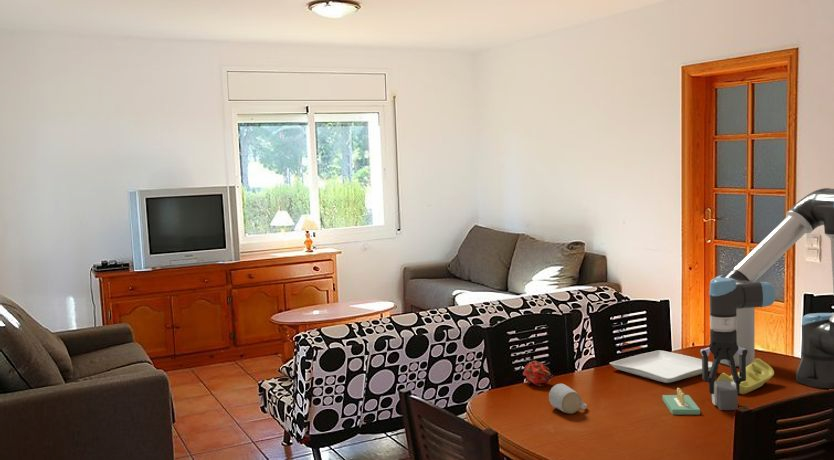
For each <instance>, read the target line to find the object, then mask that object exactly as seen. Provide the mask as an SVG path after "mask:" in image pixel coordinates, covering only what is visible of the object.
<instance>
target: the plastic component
mask: <svg viewBox="0 0 834 460" xmlns="http://www.w3.org/2000/svg"><path fill="white" fill-rule="evenodd" d="M737 373H738V376H739V371H737ZM774 375H775V371H774V369H773V367H772V366H770V365H769V364H768V363H766V362H765V361H763V360H762V359H760V358H758V357H757V358H754V360H753V361H752V362H751V363H750V364H749V365H748V366H746V381H743V382H741V383H740V384H739V386H740V392H739V393H738V394H740V395H746V394H748V393H750V392H753V391H754V390H756V389H758V388H760V387H762V386H764V384H765V383H767V382H768V381H770V380H771V378H772V377H774ZM715 381H728V382H729V383H730V384H731V382H734V380H733V376H732V374H731V375H729V374H727V373H725V372H722V373H720V374H719V376H718V377H717V378H716V379H715Z"/></svg>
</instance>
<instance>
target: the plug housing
mask: <svg viewBox="0 0 834 460" xmlns="http://www.w3.org/2000/svg"><path fill="white" fill-rule="evenodd" d="M715 383H716V384H717V405H715V406H716V407H717V408H718V409H719V410H720V411H736V410H735V409H736V408H738V409H739V404H738V403H739V402H738V401H739V399H738V398H739V397H738V393H737V389H736V388H735V387H733V386H732V385H731V384H730V383H729V382H728V381H716V380H715ZM710 396H711V397H710V398H711V401H712V394H710Z"/></svg>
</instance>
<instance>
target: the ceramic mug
mask: <svg viewBox="0 0 834 460" xmlns="http://www.w3.org/2000/svg"><path fill="white" fill-rule="evenodd" d="M548 400H549V403H550V405H551V406H552V407H553V408H556V409H557V410H559V411H562V412H563V413H564V414H567V415H568V414H569V415H573V414H575V413H577V412H578V411H579V410H580V409H582V410H586V409H587V406H588V405H587V404H586V403H585V402H583V401H582V397H581V395H580V394H579V393H578V392H577V391H576V390H574V389H573V388H571V387H570V386H568V385H566V384H564V383H556V384H555V385H553V386H552V387H551V389H550V390H549V393H548Z"/></svg>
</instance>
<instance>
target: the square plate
mask: <svg viewBox="0 0 834 460" xmlns="http://www.w3.org/2000/svg"><path fill="white" fill-rule="evenodd" d="M712 363H713V361H709V360H708V373H710V371H711V367H712ZM609 365H611V366H612V367H613V368H615V369H616V370H619V371H622V372H626V373H628V374H631V375H635V376H639V377H642V378H646V379H650V380H652V381H653V380H654V381H656V382H660V383H661V382H662V383H665V384H670V383H675V382H679V381H681V380H682V381H683V380H684V379H687V378H692V377H696V376H700V375H702V358H697V357H694V356H689V355H685V354H681V353H676V352H670V351H666V350H659V349H658V350H654V351H650V352H645V353H640V354H635V355H633V356H632V355H631V356H628V357H625V358H621V359H618V360H614V361H611V362H609Z"/></svg>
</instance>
